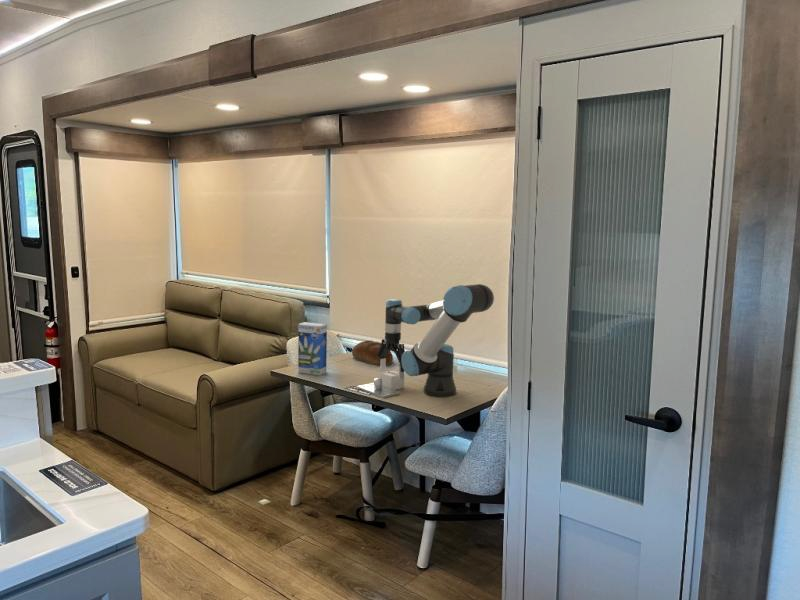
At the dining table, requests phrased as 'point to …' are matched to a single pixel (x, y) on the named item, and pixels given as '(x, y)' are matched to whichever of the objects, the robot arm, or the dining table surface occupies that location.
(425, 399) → the dining table surface
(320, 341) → the string lights box
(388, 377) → the white cardboard box
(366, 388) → the duct stub
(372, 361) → the bread
